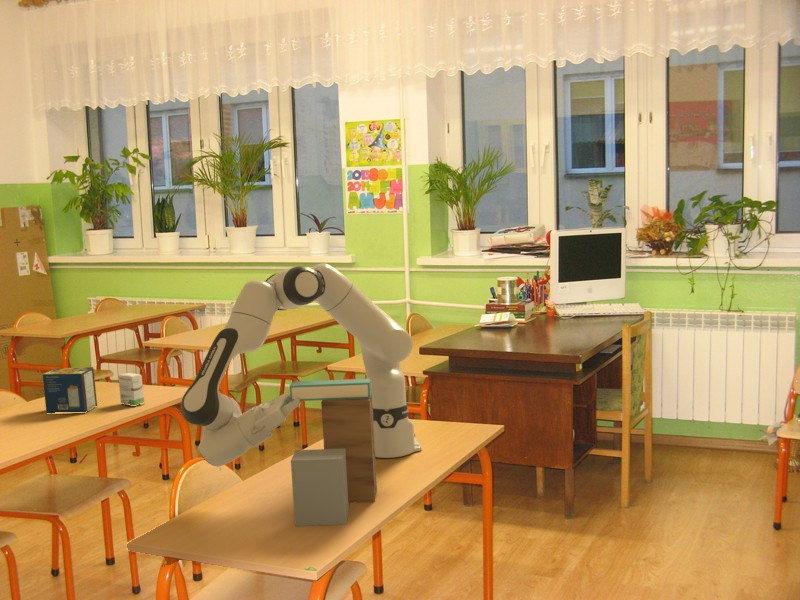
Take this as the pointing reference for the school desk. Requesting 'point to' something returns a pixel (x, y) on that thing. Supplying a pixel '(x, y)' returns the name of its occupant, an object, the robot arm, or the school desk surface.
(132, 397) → the ink box
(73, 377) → the protein box
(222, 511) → the school desk surface
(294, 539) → the school desk surface
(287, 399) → the robot arm
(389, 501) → the school desk surface
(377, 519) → the school desk surface
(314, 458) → the step
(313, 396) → the book
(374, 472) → the bookcase block
